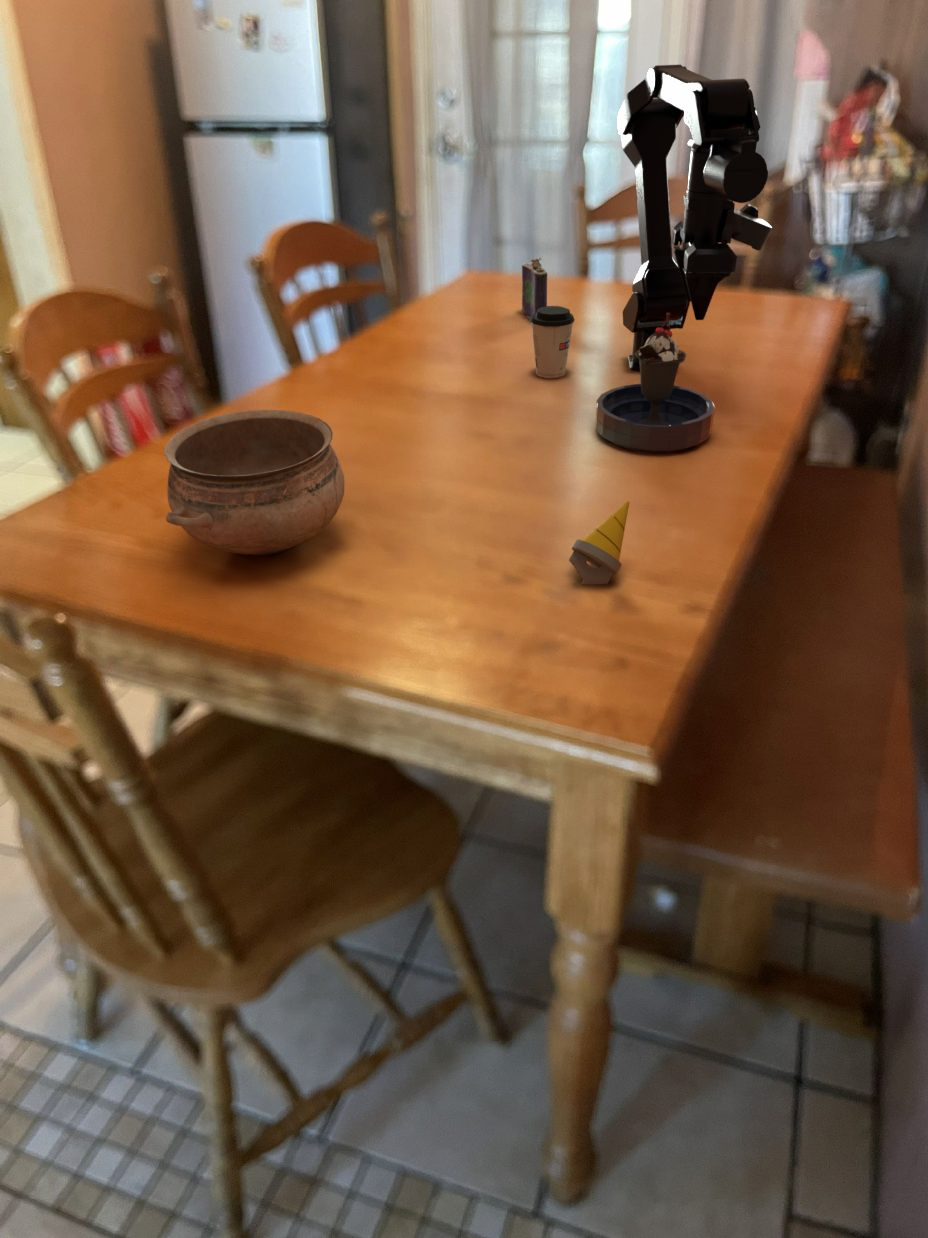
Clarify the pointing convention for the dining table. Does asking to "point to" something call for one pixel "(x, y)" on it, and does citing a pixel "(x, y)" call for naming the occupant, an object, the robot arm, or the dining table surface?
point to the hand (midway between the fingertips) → (695, 310)
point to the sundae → (658, 369)
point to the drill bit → (601, 549)
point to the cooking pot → (254, 480)
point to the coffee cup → (551, 340)
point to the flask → (533, 287)
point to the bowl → (680, 410)
